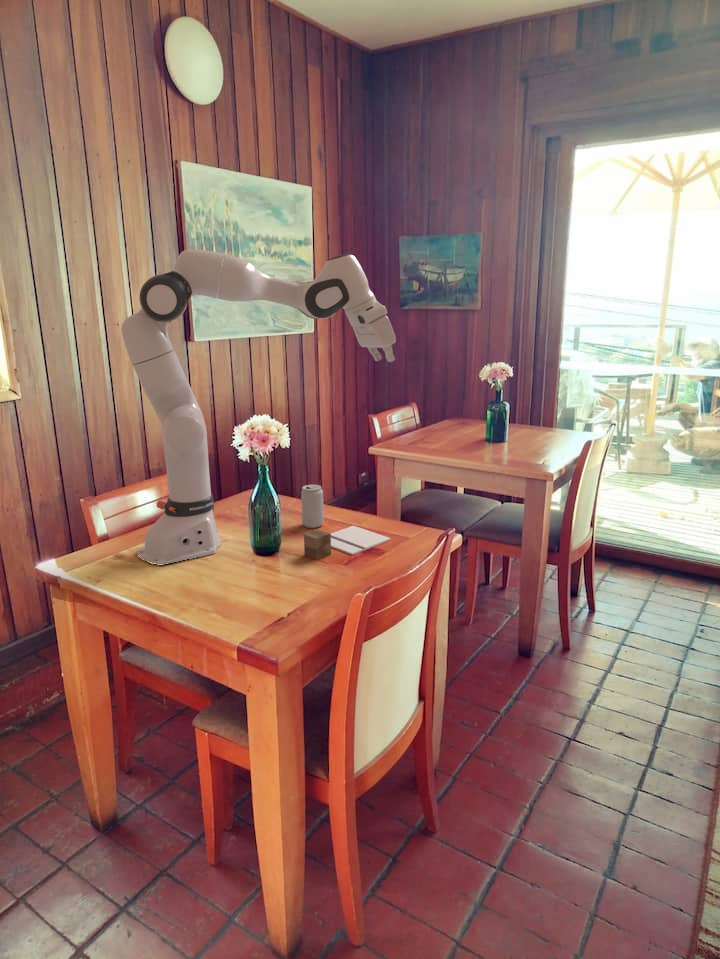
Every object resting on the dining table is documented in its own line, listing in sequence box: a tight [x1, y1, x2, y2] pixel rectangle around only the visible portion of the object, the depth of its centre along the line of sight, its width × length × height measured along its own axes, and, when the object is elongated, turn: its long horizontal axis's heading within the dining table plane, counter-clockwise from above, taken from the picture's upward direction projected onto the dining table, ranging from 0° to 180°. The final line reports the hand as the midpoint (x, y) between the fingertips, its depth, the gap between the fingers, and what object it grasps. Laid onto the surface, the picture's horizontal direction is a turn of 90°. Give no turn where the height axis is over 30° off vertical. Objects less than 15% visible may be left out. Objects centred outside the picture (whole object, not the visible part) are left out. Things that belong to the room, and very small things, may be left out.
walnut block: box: [303, 528, 332, 561], centre depth 174 cm, size 5×5×6 cm
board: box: [330, 525, 392, 556], centre depth 184 cm, size 15×15×1 cm
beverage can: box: [300, 484, 325, 529], centre depth 195 cm, size 6×6×12 cm
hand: (385, 360), depth 179 cm, fingers open, 8 cm apart
